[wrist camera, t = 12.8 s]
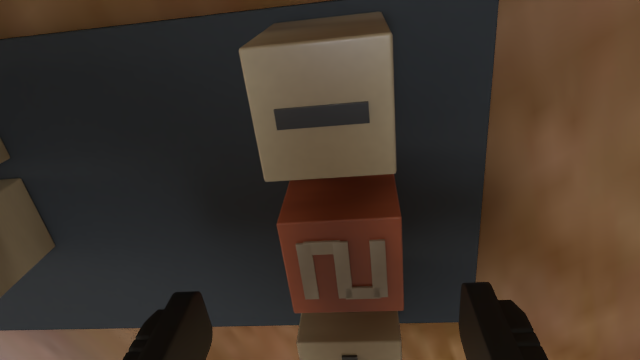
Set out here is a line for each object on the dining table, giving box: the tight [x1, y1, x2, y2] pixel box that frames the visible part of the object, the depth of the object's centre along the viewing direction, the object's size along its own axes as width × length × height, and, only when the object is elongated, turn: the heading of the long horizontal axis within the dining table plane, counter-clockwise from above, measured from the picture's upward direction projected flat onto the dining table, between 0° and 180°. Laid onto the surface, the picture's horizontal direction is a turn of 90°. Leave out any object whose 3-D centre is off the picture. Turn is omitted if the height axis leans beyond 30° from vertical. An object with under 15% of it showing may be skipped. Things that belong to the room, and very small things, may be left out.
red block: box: [276, 174, 404, 313], centre depth 16 cm, size 4×4×5 cm
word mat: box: [0, 0, 499, 330], centre depth 19 cm, size 28×16×1 cm, turn 96°
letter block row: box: [239, 12, 402, 360], centre depth 16 cm, size 4×15×5 cm, turn 7°
